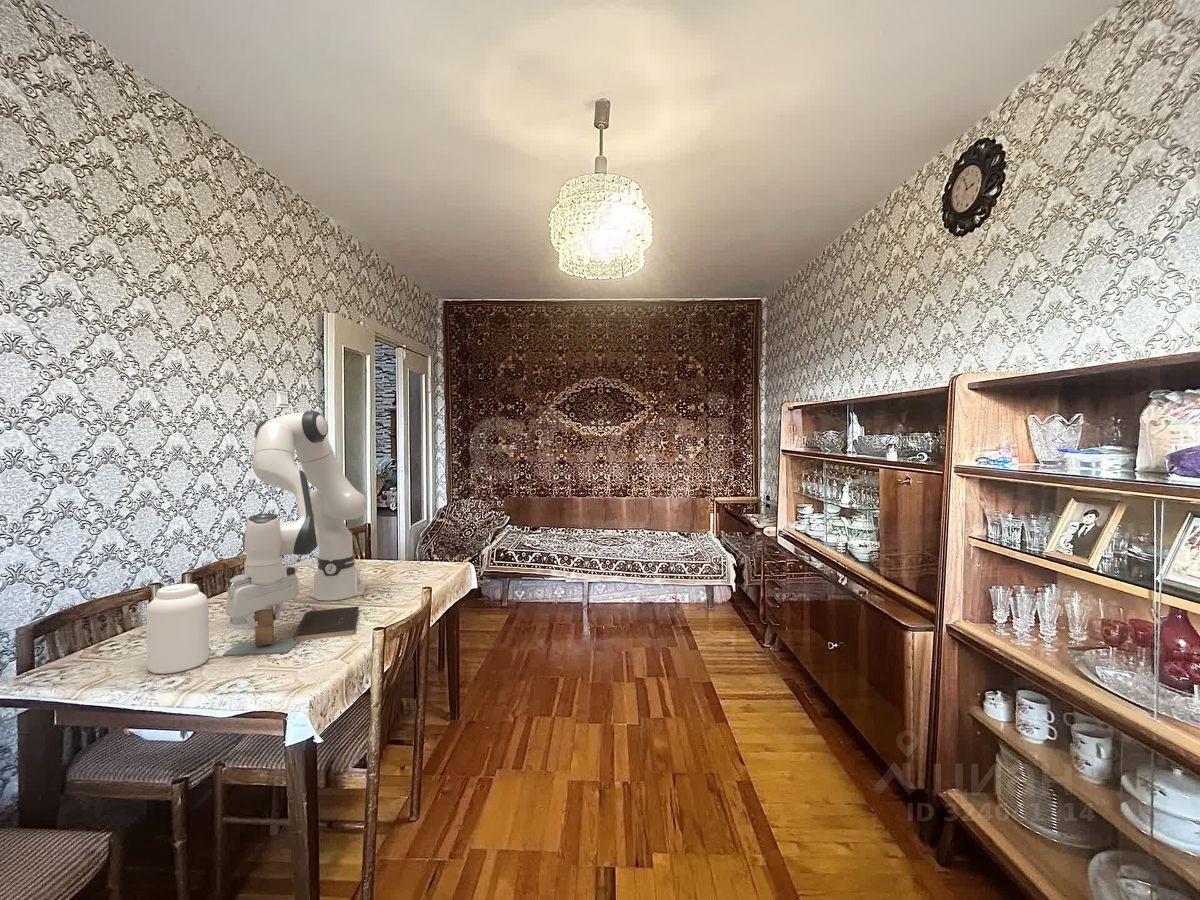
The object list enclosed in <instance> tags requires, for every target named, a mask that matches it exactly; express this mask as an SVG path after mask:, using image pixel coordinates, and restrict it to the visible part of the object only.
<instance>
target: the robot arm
mask: <svg viewBox="0 0 1200 900" xmlns="http://www.w3.org/2000/svg"><path fill="white" fill-rule="evenodd" d="M328 433H329V425H328V421H327V419H326V418H325V416H324V415H323V414H321V413H320V412H319V411H315V410H305V411H303V412H293V413H288V414H285V415H281V416H277V417H274V418H268V419H265V420H263V421H261V422H259V423H258V425H257V426H256V427H255V429H254V438H255V441H254V446H253V447H254V448H253V453H252V455H253V456H252V469H253V473H254V475H255V476H256V478H258V480H260V481H261V482H263V483H264V484H267V485H269V486H271V487H274V488H278V489H282V490H285V491H288V492H289V493H291V494H293V495H294V496H295V501H296V507H297V514H298V518H297V520H291V521H280V517H279V516H278V514H274V513H272V512H271V513H269V512H266V513H257V514H253V515H251V516H249V517H248V518H247V520H246V524H245V530H244V531H245V532H244V533H243V535H242V543H243V547H242V549H243V552H244V551H245V579H242V580H239V581H235V582H233V584H232V583H231V585H229V587H227V595H226V596H227V597H226V605H225V614H226V615H227V616H228V617H236V618H237V617H241V616H244V618H245V619H246V620H247V622H248V627H247V628H248V629H249V630H250V629H251V630H253V629H255V627H258V621H255V620H254V618H253V617H252V616H254V612H256V611H259V610H262V609H264V608H266V607H269V606H272V605H273V622H274V621H277V620H280V618H281V617H280V616H281V615H280V614H281V612H282V610H283V608H284V602H285V603H286V602H289V601H291V600H294V599H296V598H297V597H298V595H299V593H300V592H299V591H300V587H299V585H300V583H299V576H298V575H297V574H298V572H299V571H298V570H299V569H298V566H294V565H288V564H287V565H286V564H283V558H282V556H287V555H288V556H289V555H295V556H298V555H299V556H307V555H309V554H311V553H312V552H314V551H315V549H317V548H318V558H317V570H316V571H315V572H314V574H313V583H312V592H310V593H308V597H309V598H312V599H313V598H314V599H315V600H318V601H325V602H326V601H339V600H345V599H350V598H354V597H358V596H362V595H364V594H365V591H366V588H367V582H364V581H361V573H360V571H359V569H358V568H357V567H356V566H355V564H356V562H355V559H356V554H355V553H353V552H354V551H353V549H354V548H353V547H354V546H353V545H354V544H353V541H354V540H353V534H352V532H351V531H350V530H349V528H348V527H347V525H346V522H345V521H351V520H356V519H360V517H363V515H364V514H365V512H366V510H367V507H368V506H367V505H368V503H367V502H368V501H367V499H366V496H365V495H364V494H363V493H361V492H360V491H359V490H357V489H356V488H355V487H354V486H353V485H352V483H351V482H350V481H349V480H348V478H347V477H346V475H345V474H344V473H343V471H342V468H341V467H340V465H339V463H338V460H337V458H336V456H335V453H334V451H333V447H332V446H331V443H330V441H329V440H328V438H327V436H328ZM296 456H297V458H298V460H299V463H300V466H301V468H302V470H301V469H299V468H298V467H297V465H296V461H295V460H296V459H295V457H296ZM309 484H311V486H313V487H315V489H314V490H312V491H310V488H309Z"/></svg>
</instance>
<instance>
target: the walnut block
mask: <svg viewBox="0 0 1200 900" xmlns="http://www.w3.org/2000/svg"><path fill="white" fill-rule="evenodd" d="M273 611H274V606H273V605H272V606H269V607H266V608H264V609H262V610H259V611H256V612H255V621H258V627H255V628H254V642H255V646H257V645H264V644H272V643H273V641H274V639H275V638H274V636H275V635H274V634H275V633H274V629H275V628H274V620H273Z"/></svg>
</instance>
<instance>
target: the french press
mask: <svg viewBox="0 0 1200 900" xmlns="http://www.w3.org/2000/svg"><path fill="white" fill-rule="evenodd" d="M240 548H243V542H242V543H241V545H240ZM245 561H246V552H245V551H244V550H243V567H244V568H243V573H242V574H238V575H236V576H233V577H232V578H230V579H229V583H230V584H231V585H232V584H233V582H235V581H239V580H242V579H245ZM252 617H253V618H254V620H255V612H254V616H252ZM226 628H229V629H244V628H248V622H247V620H246V619H245V618H244V616H241V617H237V618H236V617H230V619H229V622H228V623H226Z"/></svg>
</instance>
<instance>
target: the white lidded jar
mask: <svg viewBox="0 0 1200 900" xmlns="http://www.w3.org/2000/svg"><path fill="white" fill-rule="evenodd" d="M209 622H210V619H209V599H208V597H207V595H206V594H205V593H203V592H202V591H200V587H199V586H198V584H195V583H185V582H184V583H176V584H172V585H171V584H170V585H166V586H163V587H161V588H159V589H157V591H156V593H155V597H154V598H153V599H152V600H151V601H150V602H149V603H148V605H147V607H146V647H147V648H146V651H147V653H146V656H147V657H146V660H147V670H148V671H149V672H150V673H151V674H158V675H159V674H160V675H163V674H175V673H180V672H185V671H188V670H192V669H195V668H196V667H199V666H201V665H203V664H204V663H206V662H207V661H208V659H209V657H210V634H209V633H210V628H209V627H210V625H209V624H210V623H209Z"/></svg>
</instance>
